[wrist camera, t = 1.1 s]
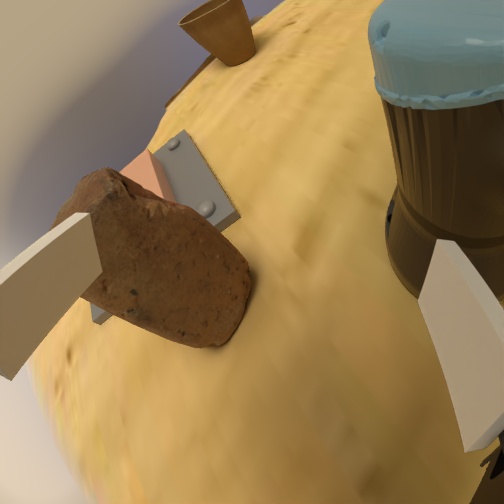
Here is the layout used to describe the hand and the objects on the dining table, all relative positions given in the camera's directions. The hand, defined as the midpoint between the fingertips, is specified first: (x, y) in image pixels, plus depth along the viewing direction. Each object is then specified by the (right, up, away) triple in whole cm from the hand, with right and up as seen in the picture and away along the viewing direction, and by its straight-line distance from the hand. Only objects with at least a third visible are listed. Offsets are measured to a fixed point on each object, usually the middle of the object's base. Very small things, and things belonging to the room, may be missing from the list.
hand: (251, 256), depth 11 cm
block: (-3, -6, +24) cm, 25 cm away
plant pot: (-3, +46, +54) cm, 71 cm away
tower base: (-17, +6, +38) cm, 42 cm away
